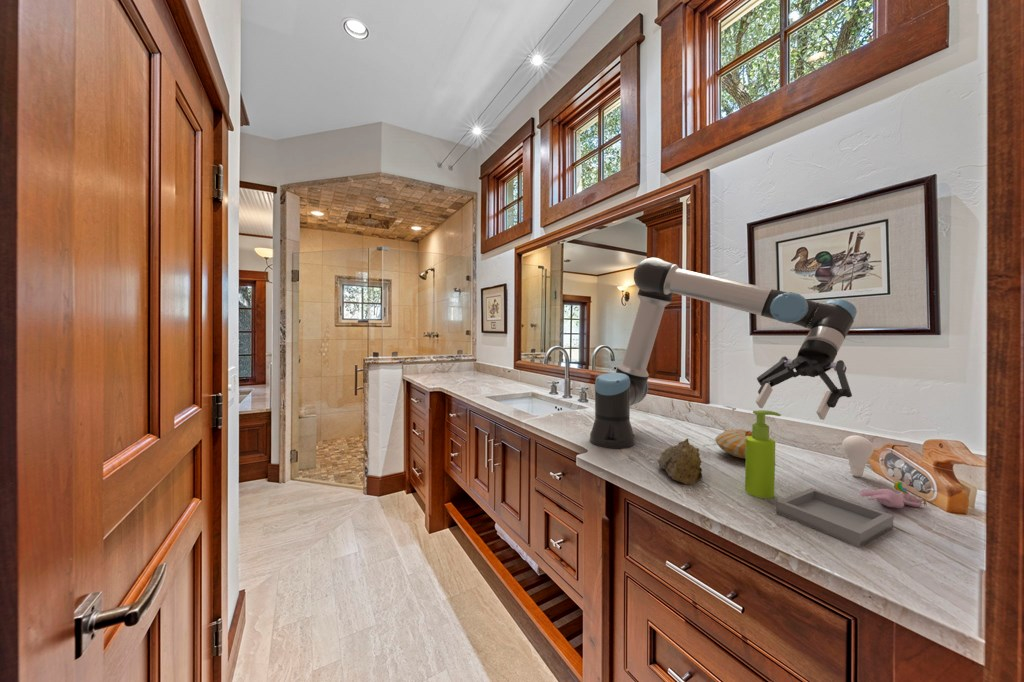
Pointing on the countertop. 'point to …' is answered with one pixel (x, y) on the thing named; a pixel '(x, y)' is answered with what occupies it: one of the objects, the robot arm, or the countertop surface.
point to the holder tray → (836, 516)
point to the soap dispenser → (760, 458)
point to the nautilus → (734, 442)
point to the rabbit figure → (894, 497)
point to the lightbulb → (857, 453)
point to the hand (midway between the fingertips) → (787, 410)
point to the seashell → (682, 462)
